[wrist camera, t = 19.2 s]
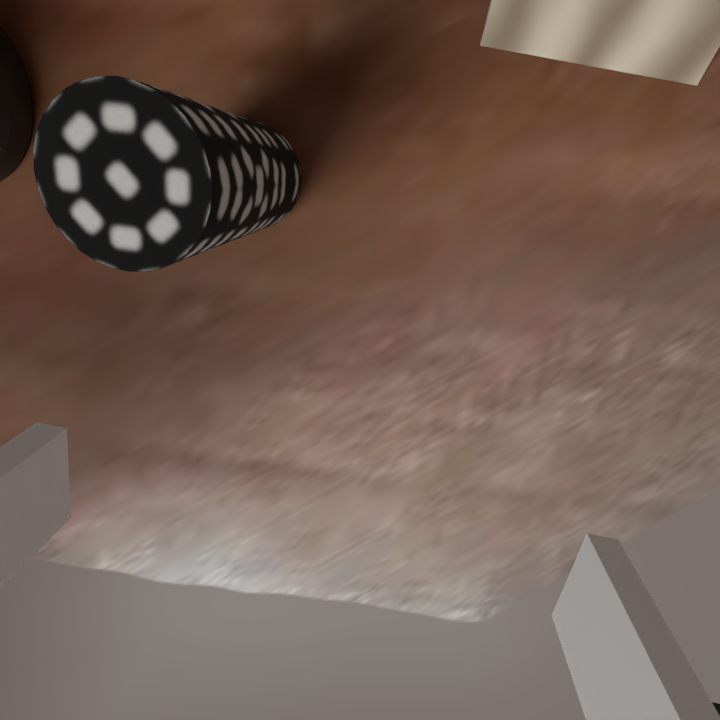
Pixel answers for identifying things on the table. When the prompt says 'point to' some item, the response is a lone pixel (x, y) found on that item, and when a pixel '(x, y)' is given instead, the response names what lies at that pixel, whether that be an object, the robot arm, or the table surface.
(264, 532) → the table surface
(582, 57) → the ramp bench
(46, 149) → the white-spotted black cylinder
